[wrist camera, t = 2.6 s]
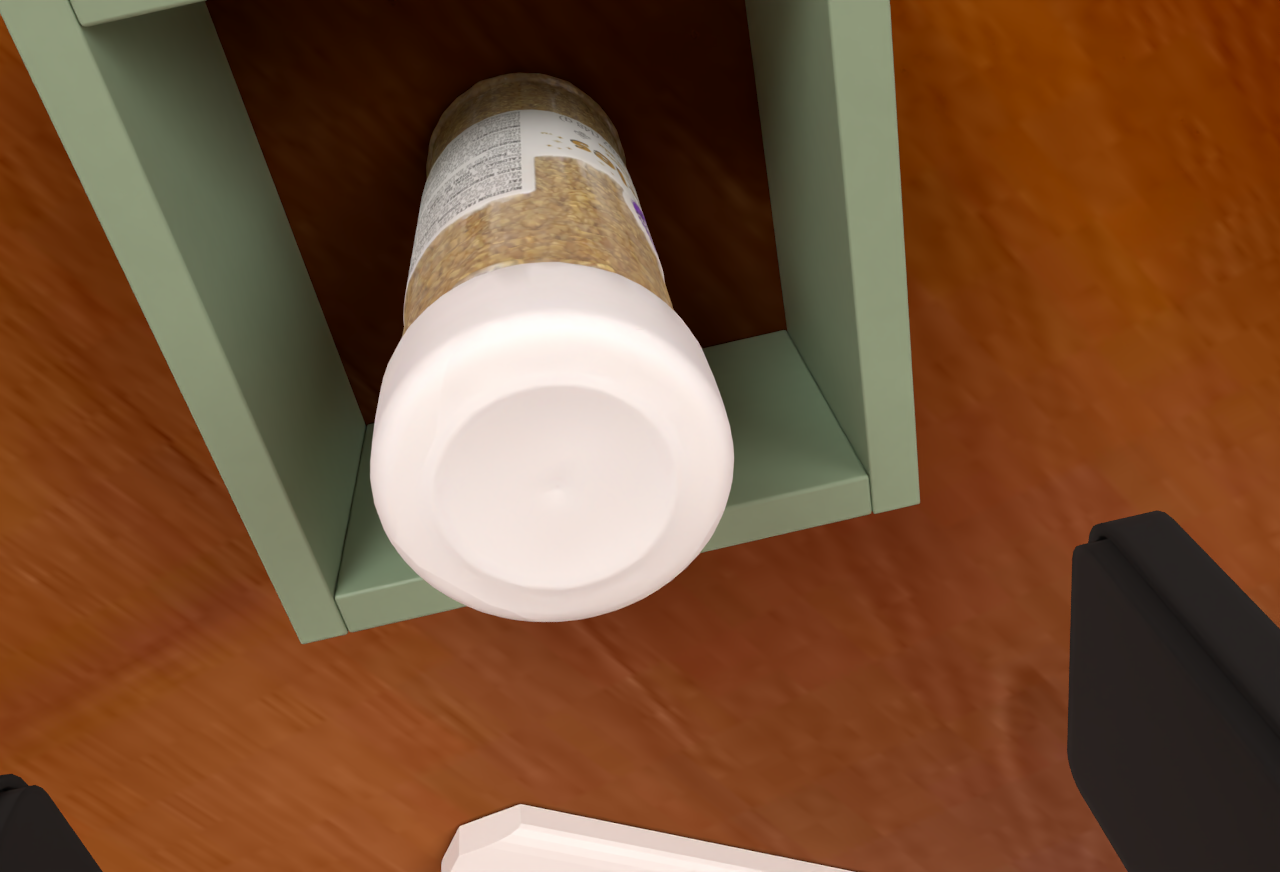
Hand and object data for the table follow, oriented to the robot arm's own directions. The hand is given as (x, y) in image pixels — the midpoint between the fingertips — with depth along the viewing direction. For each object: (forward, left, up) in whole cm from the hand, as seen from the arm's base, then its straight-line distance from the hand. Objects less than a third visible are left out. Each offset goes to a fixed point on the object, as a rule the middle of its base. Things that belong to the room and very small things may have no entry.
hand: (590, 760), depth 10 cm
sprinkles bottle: (0, 0, -18) cm, 18 cm away
